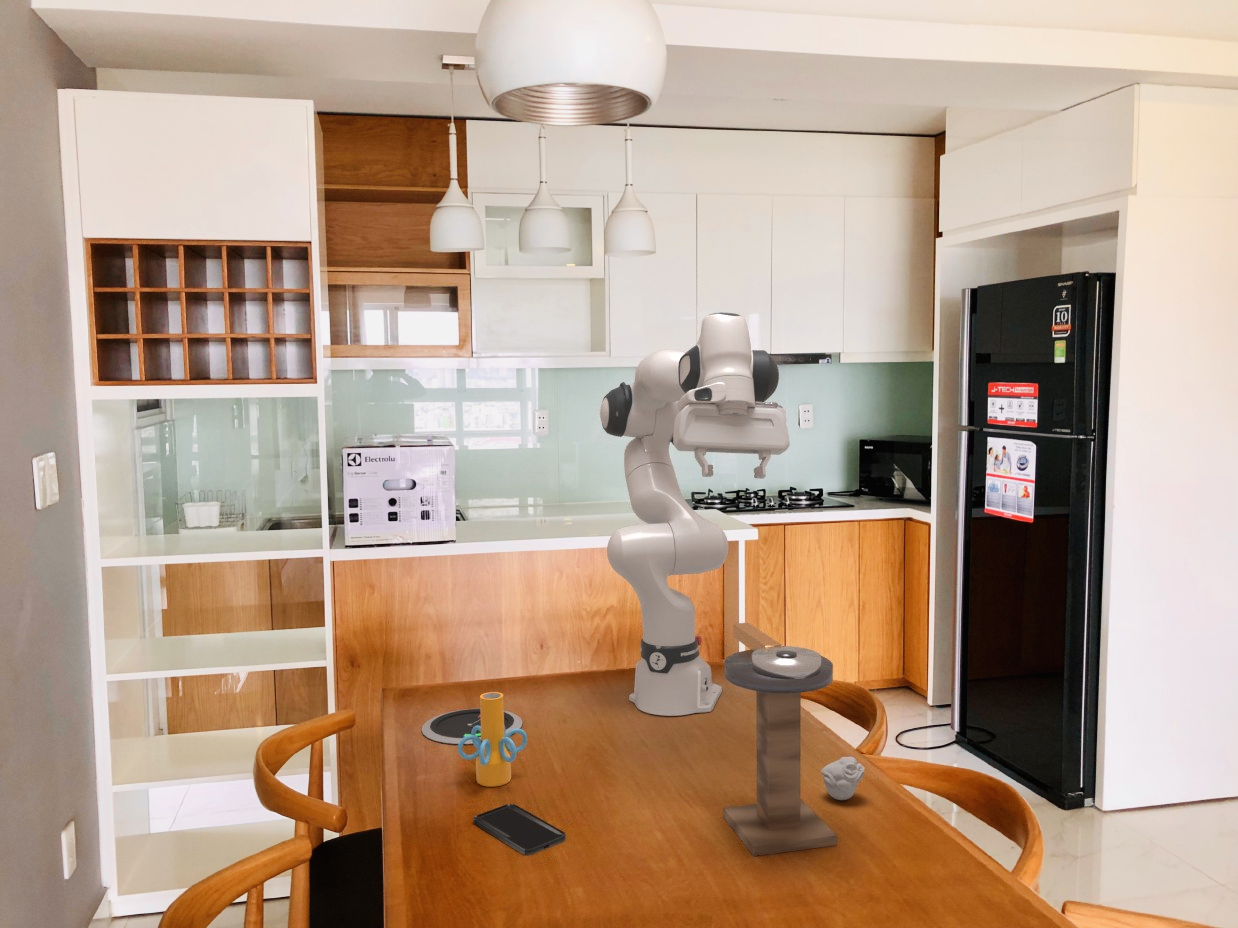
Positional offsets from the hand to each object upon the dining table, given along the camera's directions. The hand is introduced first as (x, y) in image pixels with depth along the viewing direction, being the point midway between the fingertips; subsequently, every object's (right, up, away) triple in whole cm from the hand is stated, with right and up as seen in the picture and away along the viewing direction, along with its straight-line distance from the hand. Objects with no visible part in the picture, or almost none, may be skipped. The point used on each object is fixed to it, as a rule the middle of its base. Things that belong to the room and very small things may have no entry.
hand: (734, 477), depth 162 cm
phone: (-35, -55, -16) cm, 67 cm away
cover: (+3, -27, -16) cm, 32 cm away
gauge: (-49, -51, +29) cm, 76 cm away
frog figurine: (+17, -53, -7) cm, 56 cm away
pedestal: (+5, -54, -17) cm, 56 cm away
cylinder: (-41, -53, +3) cm, 67 cm away
